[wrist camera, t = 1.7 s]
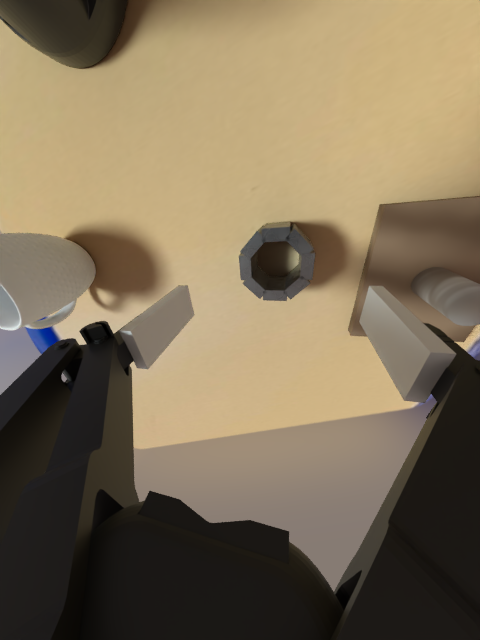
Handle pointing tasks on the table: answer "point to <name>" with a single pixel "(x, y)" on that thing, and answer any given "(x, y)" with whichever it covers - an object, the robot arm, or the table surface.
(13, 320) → the mug
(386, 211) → the stand
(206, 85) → the table surface
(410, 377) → the robot arm
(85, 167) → the table surface
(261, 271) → the ring
